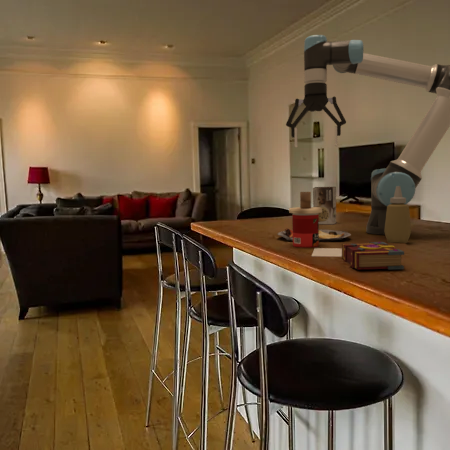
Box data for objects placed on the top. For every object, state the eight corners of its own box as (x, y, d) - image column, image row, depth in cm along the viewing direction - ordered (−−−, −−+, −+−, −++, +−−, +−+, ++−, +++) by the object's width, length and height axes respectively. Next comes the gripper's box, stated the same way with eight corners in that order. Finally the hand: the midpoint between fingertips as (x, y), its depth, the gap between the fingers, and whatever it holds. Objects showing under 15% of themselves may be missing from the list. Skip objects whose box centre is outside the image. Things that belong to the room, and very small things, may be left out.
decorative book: (356, 271, 119) (356, 250, 118) (339, 259, 135) (339, 240, 134) (404, 270, 119) (404, 249, 118) (382, 257, 135) (382, 239, 134)
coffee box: (336, 223, 224) (336, 186, 222) (333, 224, 218) (333, 187, 216) (316, 222, 228) (316, 186, 226) (312, 224, 222) (312, 187, 220)
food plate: (266, 236, 183) (266, 227, 183) (322, 233, 192) (322, 223, 192) (302, 247, 160) (302, 236, 160) (363, 243, 169) (363, 232, 169)
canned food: (318, 249, 152) (318, 213, 151) (291, 249, 154) (291, 213, 153) (319, 245, 160) (318, 211, 159) (293, 245, 161) (293, 211, 160)
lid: (322, 210, 159) (322, 191, 159) (321, 213, 150) (321, 192, 149) (290, 210, 162) (290, 191, 161) (287, 213, 152) (287, 193, 151)
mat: (363, 250, 148) (363, 248, 148) (364, 259, 135) (364, 256, 135) (314, 250, 151) (314, 248, 151) (311, 258, 138) (311, 256, 138)
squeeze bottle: (397, 245, 156) (398, 186, 154) (378, 242, 163) (379, 186, 161) (416, 243, 159) (417, 186, 157) (397, 240, 166) (397, 185, 165)
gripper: (353, 82, 174) (353, 145, 176) (280, 87, 180) (281, 148, 182) (353, 79, 167) (353, 144, 169) (277, 84, 172) (278, 147, 175)
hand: (315, 146), depth 175 cm, fingers open, 13 cm apart
